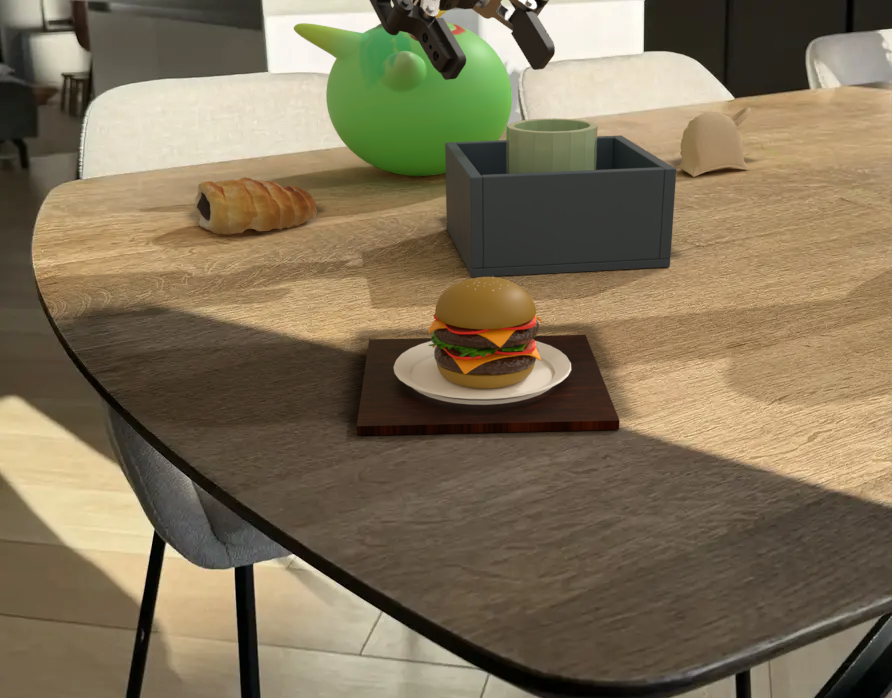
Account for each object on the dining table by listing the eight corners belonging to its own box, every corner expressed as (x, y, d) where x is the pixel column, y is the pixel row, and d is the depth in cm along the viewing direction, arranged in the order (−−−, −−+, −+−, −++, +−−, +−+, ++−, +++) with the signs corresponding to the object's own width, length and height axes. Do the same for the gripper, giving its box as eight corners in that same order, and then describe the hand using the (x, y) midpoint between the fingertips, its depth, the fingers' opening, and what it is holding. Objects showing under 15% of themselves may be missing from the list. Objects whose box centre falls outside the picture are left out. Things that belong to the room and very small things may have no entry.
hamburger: (369, 347, 62) (364, 250, 60) (585, 342, 62) (588, 245, 60) (357, 435, 51) (350, 320, 49) (618, 429, 51) (625, 314, 49)
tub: (581, 226, 84) (585, 116, 80) (601, 247, 78) (606, 130, 75) (500, 230, 83) (500, 120, 80) (514, 251, 78) (515, 134, 74)
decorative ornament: (665, 170, 106) (668, 112, 104) (734, 161, 109) (739, 105, 107) (691, 177, 102) (695, 117, 100) (762, 168, 106) (768, 110, 104)
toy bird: (545, 172, 106) (548, 6, 100) (416, 202, 95) (411, 18, 89) (415, 151, 118) (411, 1, 111) (287, 175, 107) (275, 11, 101)
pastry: (300, 210, 93) (296, 163, 92) (330, 227, 88) (327, 178, 86) (190, 224, 89) (184, 176, 88) (215, 243, 84) (210, 192, 82)
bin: (617, 221, 88) (621, 135, 85) (670, 267, 75) (676, 168, 73) (446, 229, 86) (444, 142, 84) (471, 277, 74) (470, 177, 71)
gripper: (338, -153, 75) (450, 36, 72) (494, -147, 84) (600, 22, 80) (301, -66, 81) (402, 112, 78) (449, -69, 90) (547, 92, 86)
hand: (503, 66), depth 79 cm, fingers open, 8 cm apart
